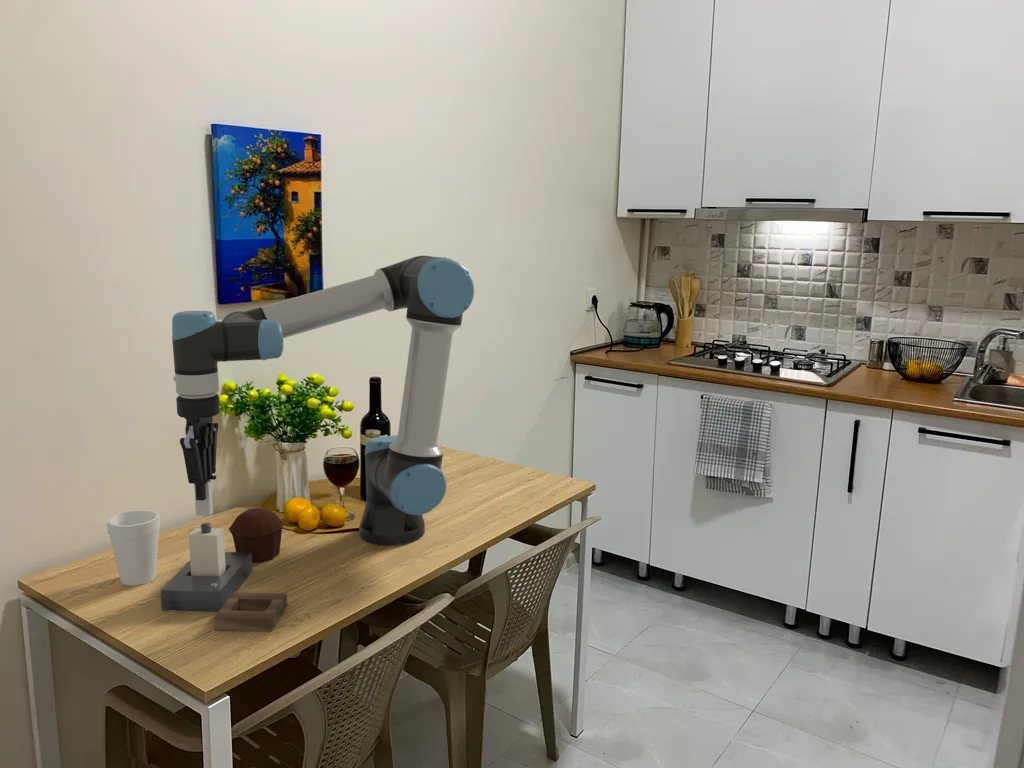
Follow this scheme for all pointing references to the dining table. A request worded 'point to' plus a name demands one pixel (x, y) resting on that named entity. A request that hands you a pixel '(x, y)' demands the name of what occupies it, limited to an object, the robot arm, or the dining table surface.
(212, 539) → the plug
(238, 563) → the switch box
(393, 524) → the robot arm
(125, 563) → the foam cup
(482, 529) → the dining table surface
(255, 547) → the muffin
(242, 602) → the brown wooden square frame
